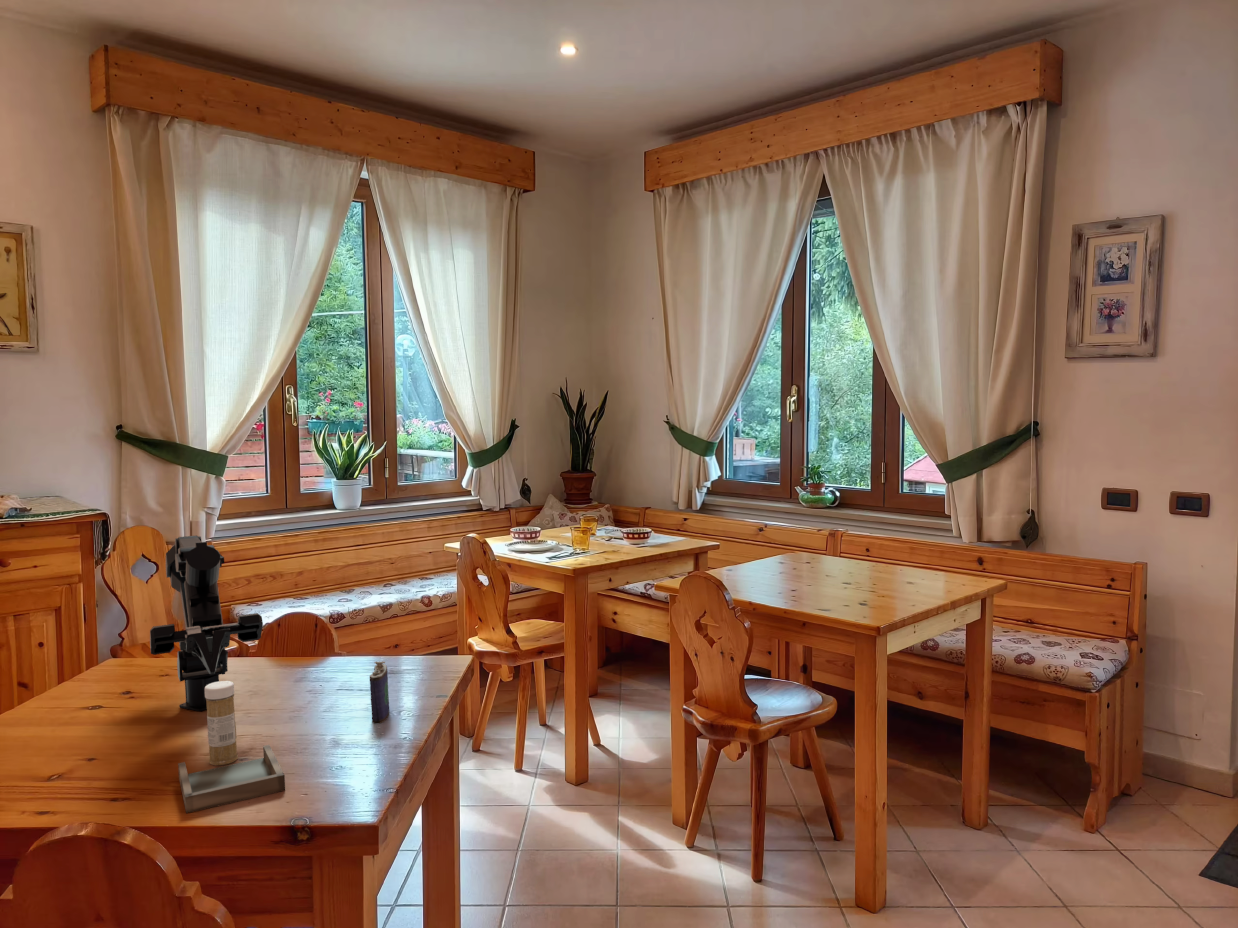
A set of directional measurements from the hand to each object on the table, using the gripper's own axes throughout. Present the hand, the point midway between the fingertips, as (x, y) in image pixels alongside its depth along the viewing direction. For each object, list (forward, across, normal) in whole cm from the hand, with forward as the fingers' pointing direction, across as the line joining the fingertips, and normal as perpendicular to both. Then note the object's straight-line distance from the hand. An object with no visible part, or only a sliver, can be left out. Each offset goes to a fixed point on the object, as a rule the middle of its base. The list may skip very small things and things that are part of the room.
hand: (212, 672), depth 156 cm
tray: (+24, 0, +6) cm, 25 cm away
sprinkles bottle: (+17, 0, -2) cm, 17 cm away
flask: (+12, -29, -6) cm, 32 cm away
